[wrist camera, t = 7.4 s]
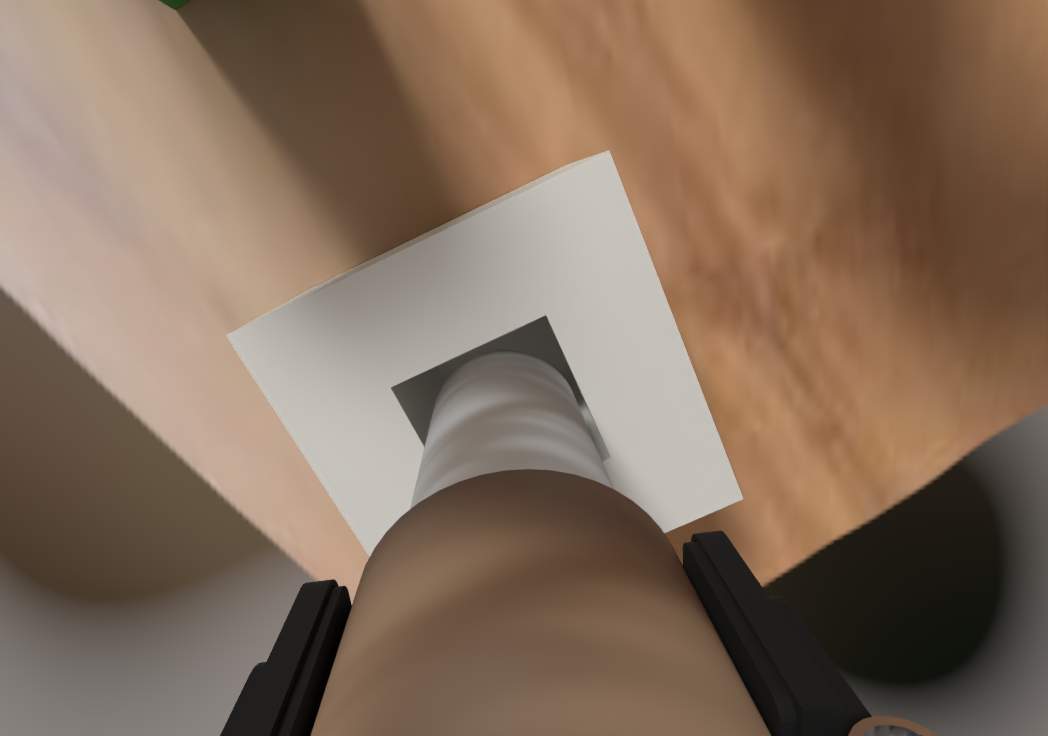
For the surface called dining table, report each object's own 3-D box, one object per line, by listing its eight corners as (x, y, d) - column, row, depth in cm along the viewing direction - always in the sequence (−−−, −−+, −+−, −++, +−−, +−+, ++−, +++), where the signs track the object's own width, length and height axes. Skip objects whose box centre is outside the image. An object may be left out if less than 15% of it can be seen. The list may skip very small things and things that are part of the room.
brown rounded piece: (588, 323, 20) (853, 674, 6) (598, 487, 22) (817, 1061, 7) (402, 344, 20) (178, 765, 5) (430, 507, 22) (321, 1138, 7)
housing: (566, 164, 28) (609, 150, 18) (666, 407, 32) (743, 499, 22) (311, 287, 29) (225, 335, 19) (440, 508, 33) (422, 637, 23)
